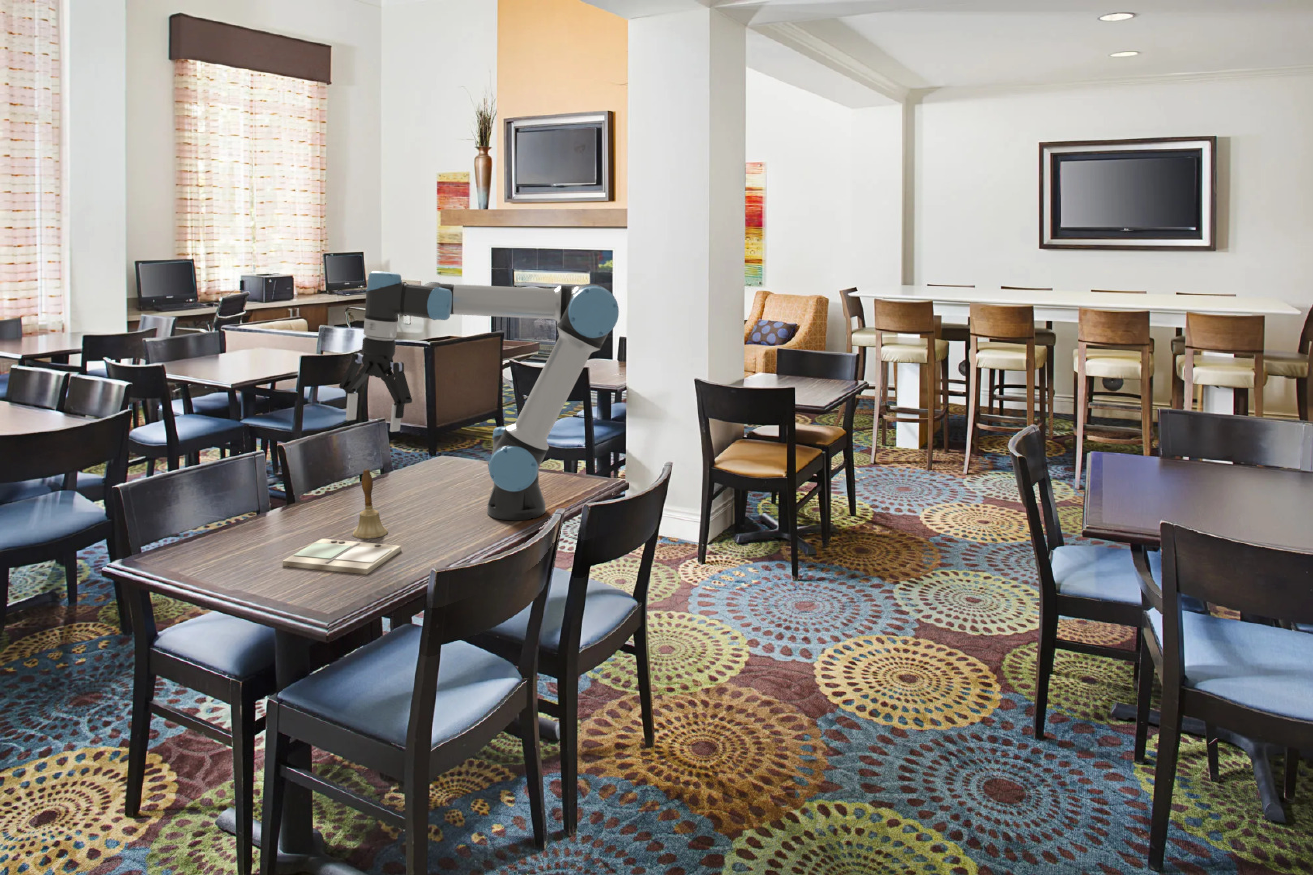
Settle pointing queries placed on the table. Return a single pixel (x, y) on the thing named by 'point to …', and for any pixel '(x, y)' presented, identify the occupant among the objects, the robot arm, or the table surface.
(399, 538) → the table surface
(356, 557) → the slot board
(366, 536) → the hand bell
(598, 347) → the robot arm
